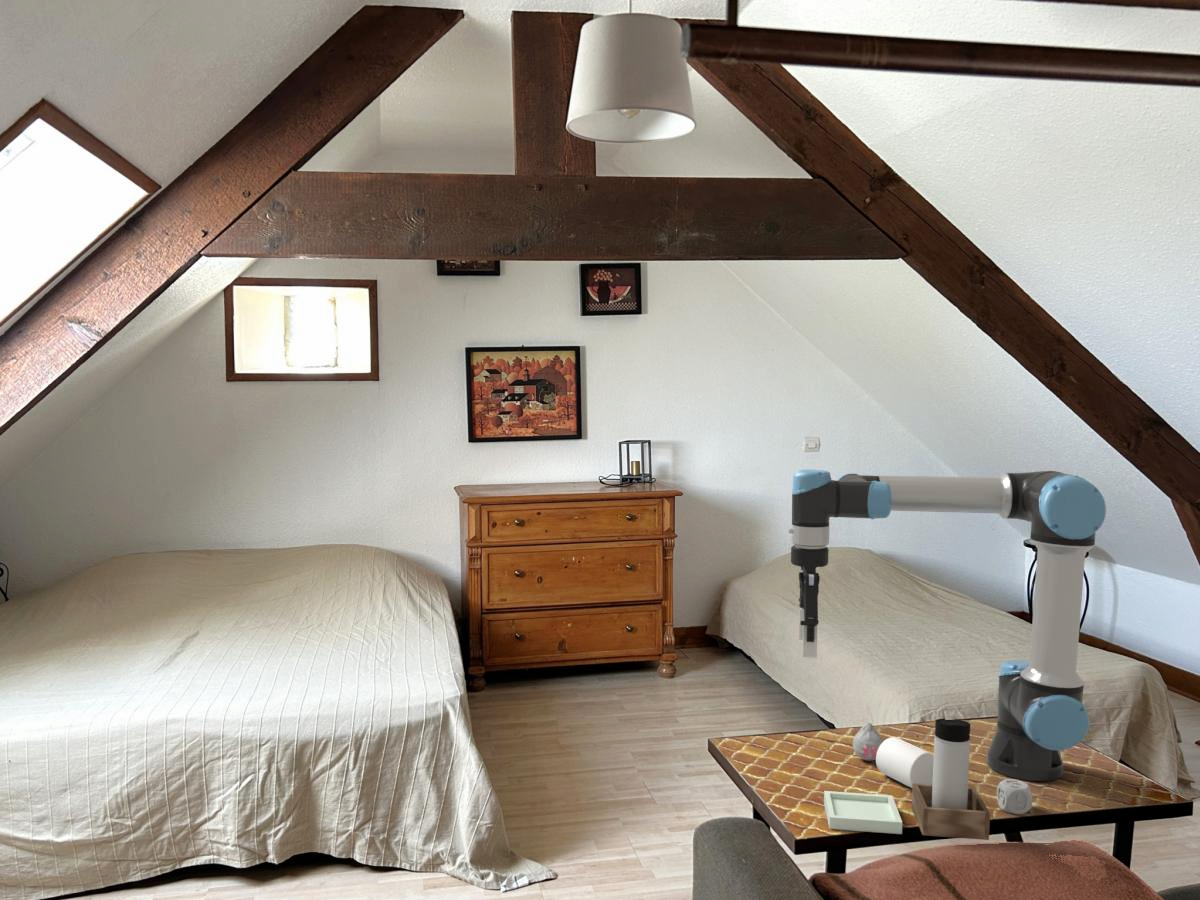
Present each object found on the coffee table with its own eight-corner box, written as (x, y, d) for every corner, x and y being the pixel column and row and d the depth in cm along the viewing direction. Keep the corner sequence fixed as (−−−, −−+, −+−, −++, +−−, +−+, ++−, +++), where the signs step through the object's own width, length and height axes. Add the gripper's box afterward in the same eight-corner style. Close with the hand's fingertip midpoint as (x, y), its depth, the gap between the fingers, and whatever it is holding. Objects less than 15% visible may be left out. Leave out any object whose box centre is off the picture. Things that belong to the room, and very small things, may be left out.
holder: (973, 812, 192) (974, 787, 192) (988, 839, 181) (990, 813, 180) (911, 808, 194) (912, 783, 193) (922, 835, 182) (923, 808, 182)
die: (1021, 803, 197) (1022, 779, 196) (1031, 814, 192) (1033, 789, 191) (995, 803, 197) (996, 778, 197) (1005, 814, 192) (1006, 789, 192)
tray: (891, 806, 195) (892, 795, 194) (901, 834, 183) (902, 822, 183) (823, 801, 196) (824, 790, 196) (829, 828, 184) (829, 817, 184)
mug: (909, 795, 200) (911, 756, 200) (874, 777, 209) (876, 739, 209) (953, 784, 206) (954, 746, 205) (917, 767, 215) (918, 731, 214)
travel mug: (934, 829, 185) (938, 724, 183) (928, 814, 191) (932, 712, 190) (969, 832, 184) (974, 726, 182) (962, 817, 190) (967, 714, 189)
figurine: (853, 764, 216) (855, 728, 215) (851, 752, 222) (852, 717, 222) (885, 767, 215) (886, 730, 214) (881, 755, 221) (882, 719, 221)
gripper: (788, 535, 217) (786, 631, 218) (794, 555, 192) (791, 664, 194) (823, 536, 216) (821, 633, 217) (834, 556, 191) (831, 665, 193)
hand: (807, 648), depth 205 cm, fingers open, 13 cm apart
